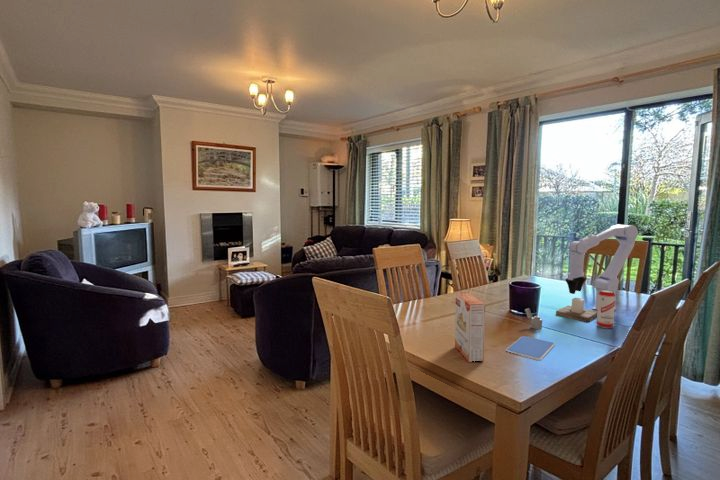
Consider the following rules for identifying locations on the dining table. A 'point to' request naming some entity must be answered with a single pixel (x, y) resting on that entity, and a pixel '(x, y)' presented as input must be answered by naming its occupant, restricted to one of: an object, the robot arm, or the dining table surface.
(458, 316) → the cracker box
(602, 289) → the robot arm
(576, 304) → the peg
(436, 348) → the dining table surface
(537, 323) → the lighter
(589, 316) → the slotted board
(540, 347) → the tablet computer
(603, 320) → the beer can
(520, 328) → the dining table surface
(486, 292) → the dining table surface
